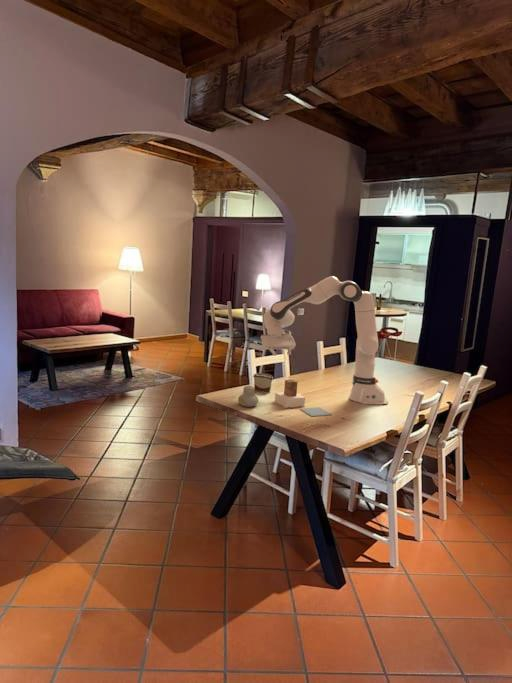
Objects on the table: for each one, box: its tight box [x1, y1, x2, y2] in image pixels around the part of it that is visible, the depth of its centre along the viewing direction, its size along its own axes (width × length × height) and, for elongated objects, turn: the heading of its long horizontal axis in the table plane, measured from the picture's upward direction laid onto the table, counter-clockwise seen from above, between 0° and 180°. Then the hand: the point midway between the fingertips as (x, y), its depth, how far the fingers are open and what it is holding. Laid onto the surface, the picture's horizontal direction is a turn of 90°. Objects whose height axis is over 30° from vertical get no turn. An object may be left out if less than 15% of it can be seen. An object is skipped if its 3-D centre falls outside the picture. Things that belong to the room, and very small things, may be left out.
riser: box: [274, 391, 306, 409], centre depth 256 cm, size 12×12×5 cm
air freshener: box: [237, 385, 259, 408], centre depth 248 cm, size 11×8×10 cm
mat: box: [299, 406, 332, 418], centre depth 245 cm, size 12×12×1 cm
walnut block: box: [283, 379, 298, 397], centre depth 255 cm, size 5×5×8 cm
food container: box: [252, 372, 274, 394], centre depth 279 cm, size 12×6×10 cm, turn 71°
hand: (282, 354), depth 264 cm, fingers open, 8 cm apart
